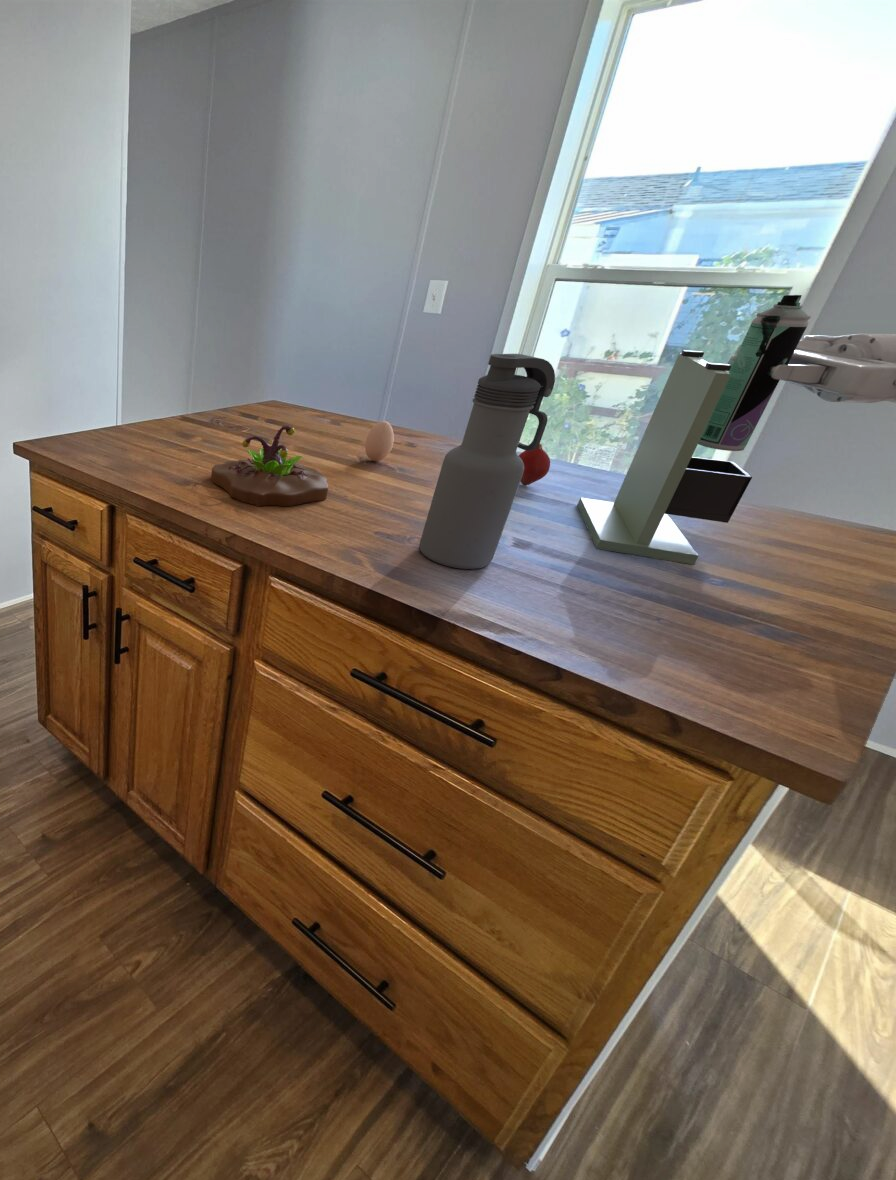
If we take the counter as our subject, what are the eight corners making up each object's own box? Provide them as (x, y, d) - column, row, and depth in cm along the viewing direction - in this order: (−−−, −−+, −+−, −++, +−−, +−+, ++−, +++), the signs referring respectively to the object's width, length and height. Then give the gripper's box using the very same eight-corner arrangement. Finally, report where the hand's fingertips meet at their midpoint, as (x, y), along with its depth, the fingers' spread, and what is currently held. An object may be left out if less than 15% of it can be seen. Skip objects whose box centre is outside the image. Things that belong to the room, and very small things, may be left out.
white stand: (685, 521, 109) (769, 353, 96) (724, 570, 93) (831, 376, 80) (577, 505, 115) (642, 344, 102) (596, 548, 99) (676, 364, 86)
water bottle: (462, 539, 101) (523, 348, 87) (509, 568, 93) (585, 362, 79) (403, 544, 99) (457, 350, 85) (446, 574, 91) (513, 363, 77)
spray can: (743, 453, 92) (823, 297, 82) (694, 445, 95) (765, 294, 85) (744, 445, 95) (821, 294, 85) (697, 438, 98) (765, 292, 89)
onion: (503, 478, 127) (516, 437, 123) (535, 481, 126) (550, 440, 122) (513, 488, 122) (527, 446, 118) (547, 491, 121) (562, 448, 117)
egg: (389, 459, 137) (398, 419, 133) (387, 466, 132) (397, 425, 128) (362, 455, 139) (371, 416, 134) (360, 462, 134) (369, 422, 130)
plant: (347, 502, 115) (361, 439, 109) (245, 510, 110) (254, 445, 105) (291, 466, 131) (300, 410, 126) (200, 472, 127) (206, 414, 122)
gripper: (921, 410, 82) (805, 407, 82) (783, 378, 99) (688, 376, 100) (955, 357, 78) (833, 355, 79) (805, 333, 96) (707, 331, 97)
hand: (751, 366), depth 90 cm, fingers closed on spray can, 5 cm apart
